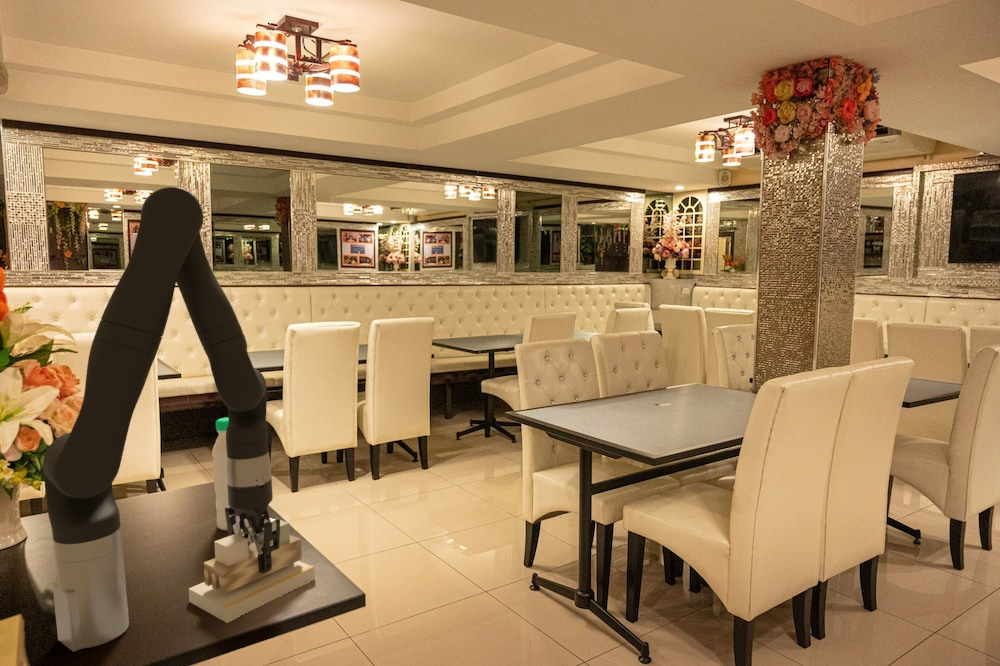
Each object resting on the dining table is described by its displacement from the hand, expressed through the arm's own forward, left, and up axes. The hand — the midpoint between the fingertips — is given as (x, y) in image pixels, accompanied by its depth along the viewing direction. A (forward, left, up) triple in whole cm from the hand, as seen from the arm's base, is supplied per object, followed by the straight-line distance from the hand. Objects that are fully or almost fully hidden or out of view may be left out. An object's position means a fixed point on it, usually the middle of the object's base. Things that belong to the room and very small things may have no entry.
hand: (254, 566), depth 121 cm
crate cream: (-4, 0, +3) cm, 5 cm away
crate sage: (+4, 0, +3) cm, 5 cm away
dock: (0, 0, -4) cm, 4 cm away
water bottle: (+15, +31, -5) cm, 35 cm away
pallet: (0, 0, -1) cm, 1 cm away
